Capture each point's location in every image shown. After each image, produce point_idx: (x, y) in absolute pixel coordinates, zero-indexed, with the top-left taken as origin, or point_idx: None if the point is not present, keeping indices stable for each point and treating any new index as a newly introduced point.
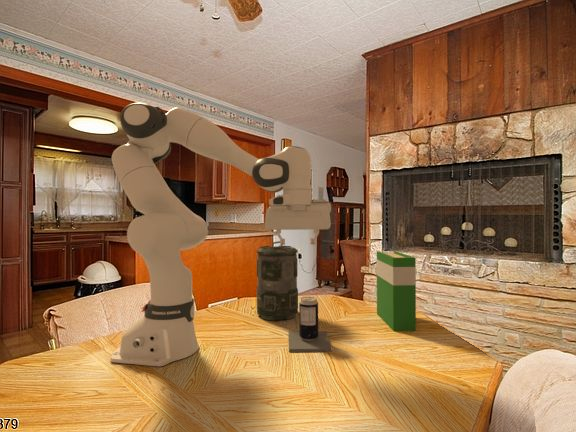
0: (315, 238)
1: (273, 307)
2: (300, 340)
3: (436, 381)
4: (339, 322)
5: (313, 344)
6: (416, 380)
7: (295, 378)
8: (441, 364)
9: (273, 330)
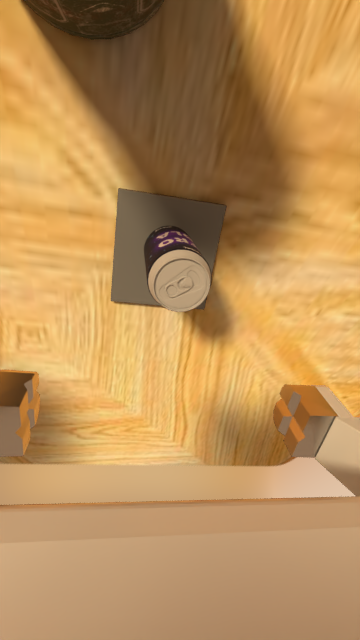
0: (331, 459)
1: (56, 15)
2: (144, 259)
3: None
4: (302, 112)
5: None
6: None
7: (114, 386)
8: (354, 367)
9: (71, 146)
